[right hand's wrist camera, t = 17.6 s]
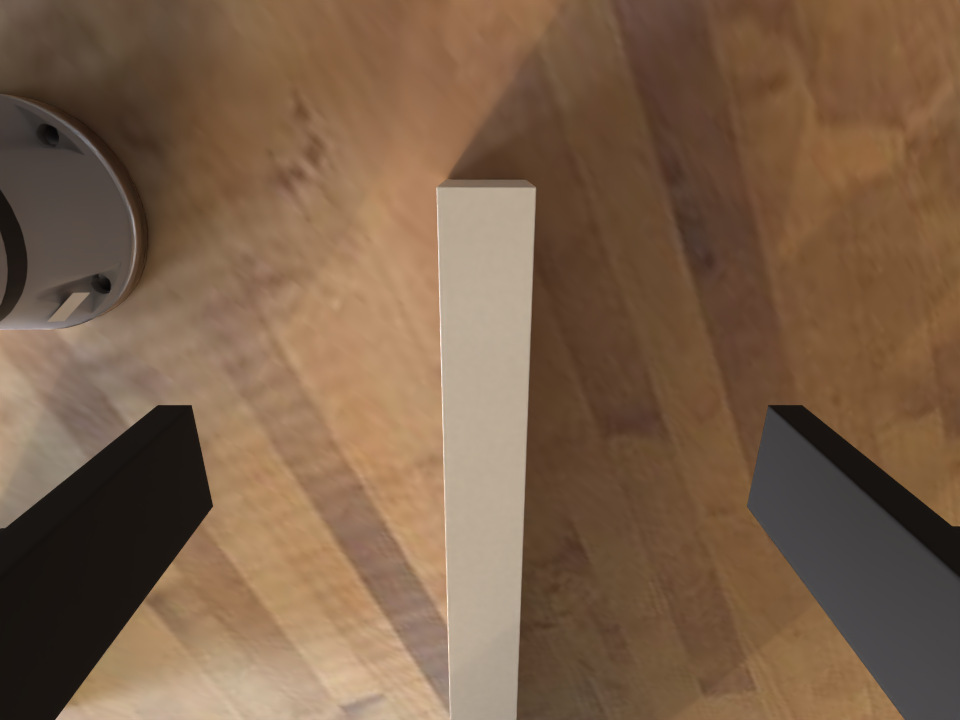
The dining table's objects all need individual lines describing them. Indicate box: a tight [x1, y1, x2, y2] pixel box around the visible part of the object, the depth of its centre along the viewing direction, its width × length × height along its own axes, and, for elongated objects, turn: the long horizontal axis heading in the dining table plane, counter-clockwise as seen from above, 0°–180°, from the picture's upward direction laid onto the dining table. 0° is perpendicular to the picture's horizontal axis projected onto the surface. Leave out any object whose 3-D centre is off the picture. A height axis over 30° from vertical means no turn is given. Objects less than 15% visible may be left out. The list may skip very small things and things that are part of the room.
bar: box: [437, 180, 536, 720], centre depth 47 cm, size 73×6×8 cm, turn 0°
